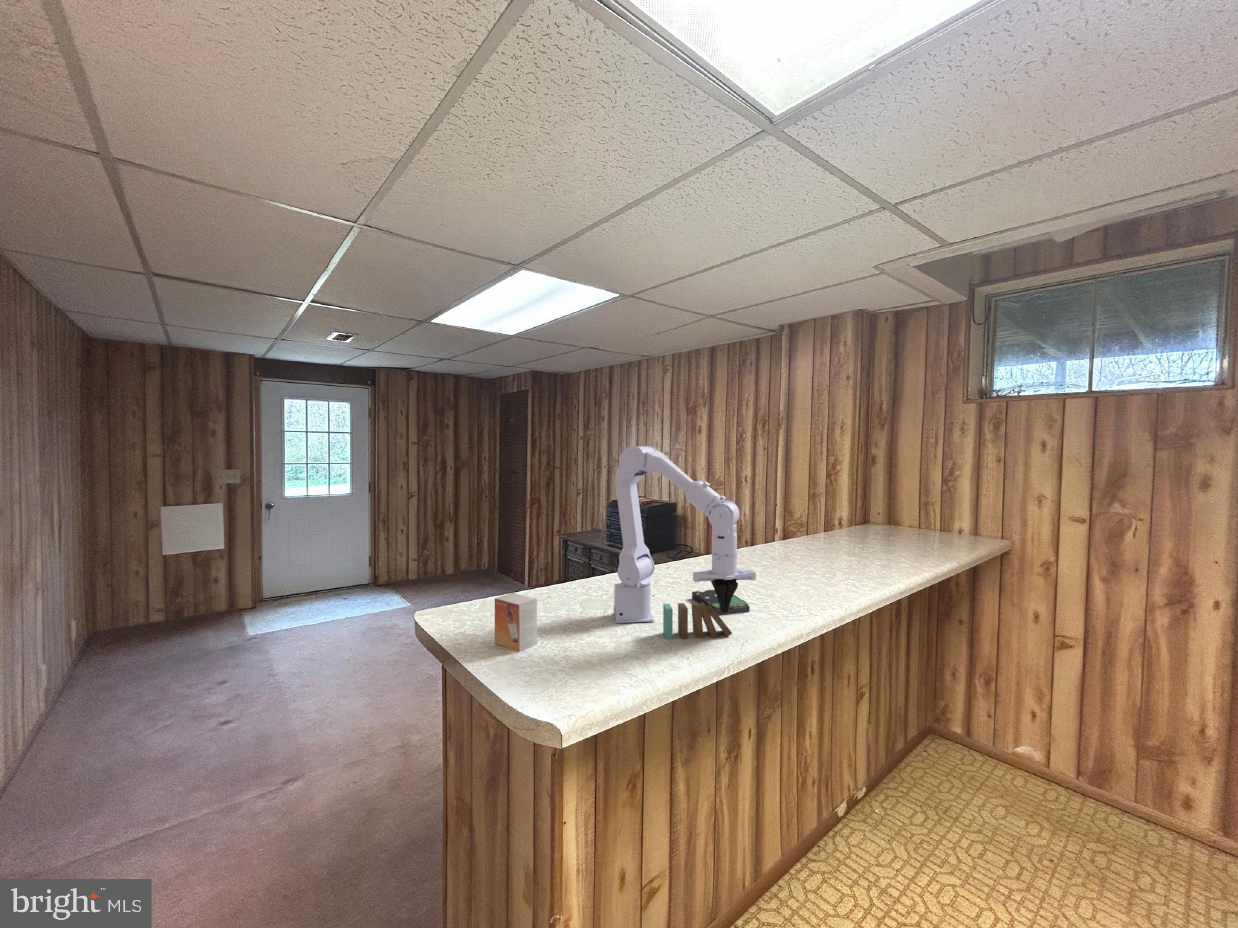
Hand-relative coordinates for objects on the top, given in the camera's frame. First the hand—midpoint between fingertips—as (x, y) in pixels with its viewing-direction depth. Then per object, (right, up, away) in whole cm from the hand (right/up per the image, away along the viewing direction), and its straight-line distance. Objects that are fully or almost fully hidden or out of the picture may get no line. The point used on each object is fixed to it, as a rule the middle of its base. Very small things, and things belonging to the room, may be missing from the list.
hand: (724, 610), depth 117 cm
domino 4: (+1, -5, 0) cm, 5 cm away
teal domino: (-13, -6, -1) cm, 14 cm away
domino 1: (-10, -6, -1) cm, 11 cm away
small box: (-48, -6, -5) cm, 48 cm away
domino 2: (-6, -5, 0) cm, 8 cm away
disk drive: (+3, -5, +21) cm, 22 cm away
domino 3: (-3, -5, 0) cm, 6 cm away
